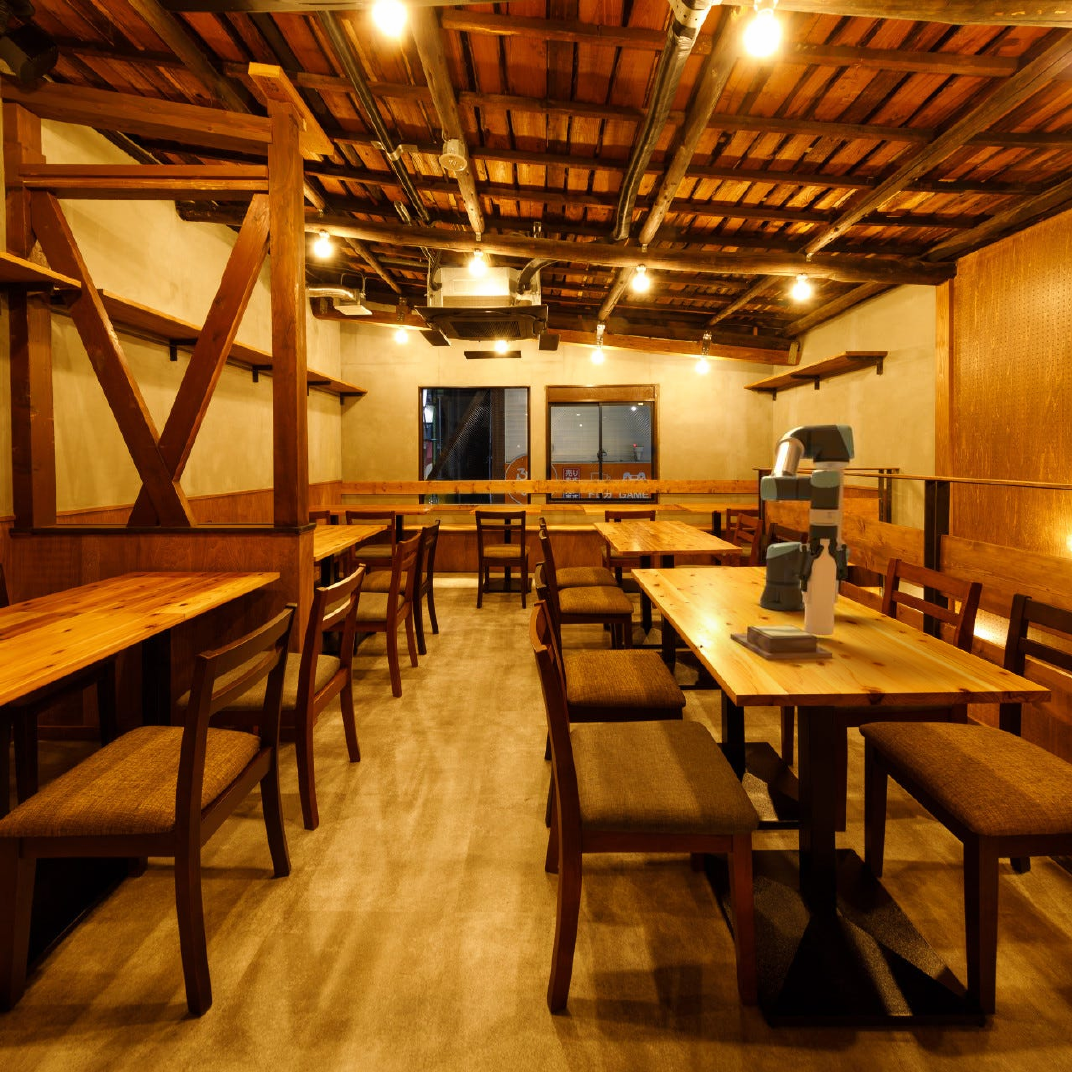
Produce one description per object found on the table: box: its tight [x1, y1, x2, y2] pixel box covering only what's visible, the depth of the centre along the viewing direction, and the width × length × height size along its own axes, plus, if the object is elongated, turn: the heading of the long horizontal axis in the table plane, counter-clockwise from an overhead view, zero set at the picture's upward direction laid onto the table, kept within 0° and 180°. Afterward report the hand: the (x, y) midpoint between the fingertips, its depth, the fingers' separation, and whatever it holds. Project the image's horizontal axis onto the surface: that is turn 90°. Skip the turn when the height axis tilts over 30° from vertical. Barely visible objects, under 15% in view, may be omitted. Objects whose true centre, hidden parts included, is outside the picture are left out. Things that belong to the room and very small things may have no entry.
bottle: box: [803, 539, 836, 636], centre depth 182 cm, size 8×8×30 cm
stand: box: [729, 624, 833, 661], centre depth 174 cm, size 22×18×6 cm
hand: (819, 602), depth 183 cm, fingers closed on bottle, 8 cm apart
